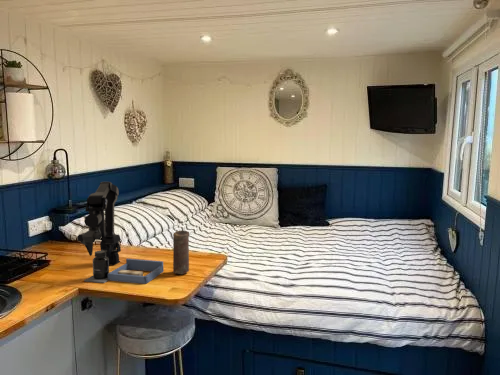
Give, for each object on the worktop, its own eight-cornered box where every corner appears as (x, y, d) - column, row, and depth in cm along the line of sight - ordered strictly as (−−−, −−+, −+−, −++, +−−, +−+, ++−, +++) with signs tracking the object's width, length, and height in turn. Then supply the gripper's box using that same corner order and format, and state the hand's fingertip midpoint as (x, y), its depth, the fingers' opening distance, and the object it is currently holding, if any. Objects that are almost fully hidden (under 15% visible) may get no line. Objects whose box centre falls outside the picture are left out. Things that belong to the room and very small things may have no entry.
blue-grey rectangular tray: (107, 280, 171) (107, 269, 171) (127, 268, 187) (127, 258, 187) (146, 283, 167) (145, 272, 166) (163, 271, 183) (163, 261, 182)
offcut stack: (114, 280, 172) (114, 271, 172) (118, 277, 175) (118, 269, 175) (140, 282, 169) (140, 274, 169) (144, 280, 172) (143, 271, 172)
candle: (192, 271, 182) (191, 230, 180) (184, 276, 176) (183, 234, 173) (178, 269, 185) (177, 229, 182) (170, 274, 178) (169, 233, 176)
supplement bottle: (94, 280, 169) (92, 254, 168) (92, 276, 175) (91, 250, 174) (110, 278, 172) (109, 252, 171) (108, 273, 178) (107, 248, 177)
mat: (84, 281, 170) (84, 280, 170) (98, 273, 180) (98, 272, 180) (103, 283, 168) (103, 282, 168) (117, 275, 177) (116, 274, 177)
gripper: (67, 225, 165) (69, 260, 167) (105, 227, 160) (107, 263, 162) (84, 220, 176) (86, 253, 177) (120, 222, 171) (121, 255, 173)
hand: (99, 256), depth 172 cm, fingers open, 9 cm apart
